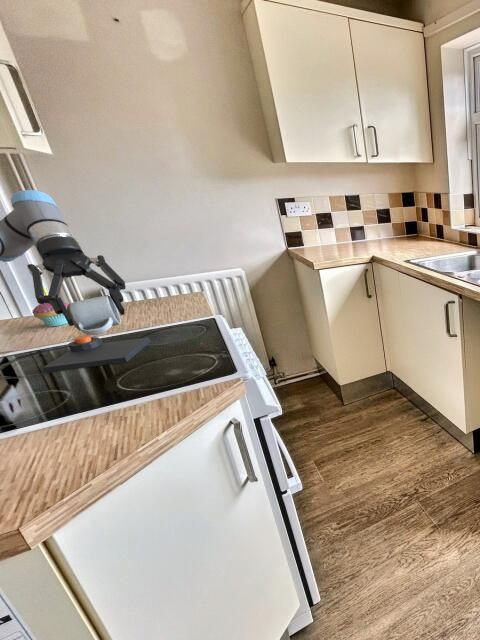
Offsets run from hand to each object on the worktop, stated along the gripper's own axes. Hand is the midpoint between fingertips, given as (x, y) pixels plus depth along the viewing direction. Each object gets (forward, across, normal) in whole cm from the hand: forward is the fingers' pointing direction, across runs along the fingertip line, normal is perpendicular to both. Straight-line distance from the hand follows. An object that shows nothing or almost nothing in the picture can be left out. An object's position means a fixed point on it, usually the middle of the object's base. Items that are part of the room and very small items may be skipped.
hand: (97, 317), depth 102 cm
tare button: (-2, +3, -14) cm, 14 cm away
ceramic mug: (+1, 0, -5) cm, 5 cm away
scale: (+5, +2, -11) cm, 12 cm away
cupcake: (-27, +4, -42) cm, 50 cm away
